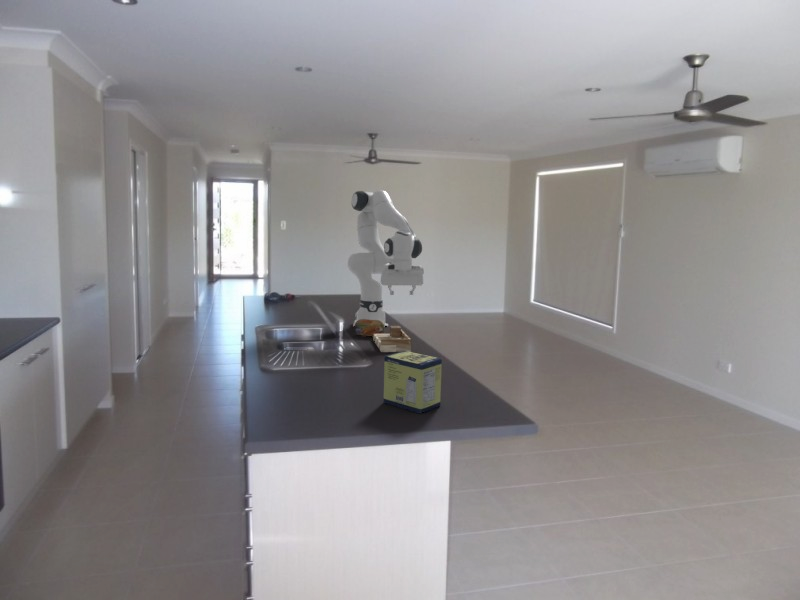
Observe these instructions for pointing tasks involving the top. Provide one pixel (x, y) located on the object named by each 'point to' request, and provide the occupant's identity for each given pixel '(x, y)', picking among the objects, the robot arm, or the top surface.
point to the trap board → (392, 342)
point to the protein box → (412, 381)
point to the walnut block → (395, 331)
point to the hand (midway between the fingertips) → (401, 294)
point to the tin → (369, 327)
